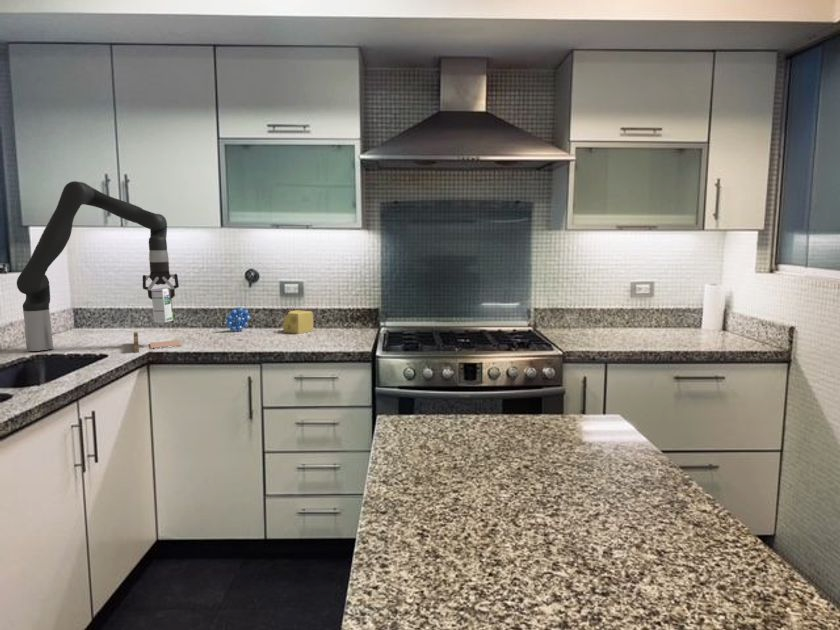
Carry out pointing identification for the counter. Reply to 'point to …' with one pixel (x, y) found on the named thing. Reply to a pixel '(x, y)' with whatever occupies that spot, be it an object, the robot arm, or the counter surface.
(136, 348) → the walnut wall
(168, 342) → the terracotta tile
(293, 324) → the cheese
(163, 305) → the syrup box
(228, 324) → the grapes
